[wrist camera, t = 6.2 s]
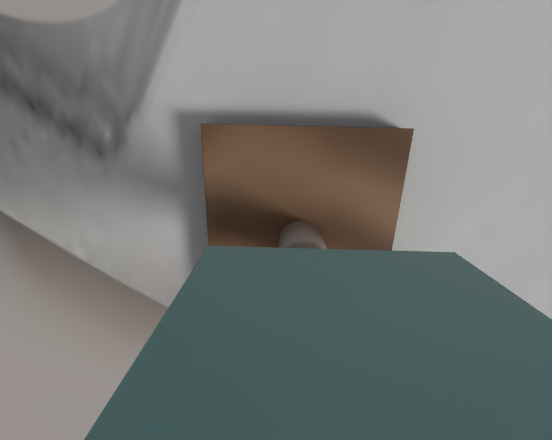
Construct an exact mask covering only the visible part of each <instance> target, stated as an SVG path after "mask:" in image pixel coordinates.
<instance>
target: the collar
mask: <svg viewBox="0 0 552 440" xmlns="http://www.w3.org/2000/svg"><path fill="white" fill-rule="evenodd" d="M84 440H552V319H550V318H549V317H547V316H546V315H544V314H543V313H541V312H540V311H539V310H537V309H536V308H534V307H533V306H531V305H530V304H528V303H527V302H526V301H524V300H523V299H521V298H520V297H518V296H517V295H515V294H514V293H513V292H511V291H510V290H508V289H507V288H505V287H504V286H502V285H501V284H500V283H498V282H497V281H495V280H494V279H492V278H491V277H489V276H488V275H487V274H485V273H484V272H482V271H481V270H479V269H478V268H476V267H475V266H474V265H472V264H471V263H469V262H468V261H466V260H465V259H463V258H462V257H461V256H459V255H458V254H456V253H455V252H421V251H384V250H346V249H309V248H272V247H235V246H208V247H207V249H206V250H205V252H204V254H203V255H202V257H201V258H200V260H199V261H198V263H197V264H196V266H195V268H194V269H193V271H192V272H191V274H190V275H189V277H188V279H187V280H186V282H185V283H184V285H183V286H182V288H181V289H180V291H179V293H178V294H177V296H176V297H175V299H174V300H173V302H172V303H171V305H170V307H169V308H168V310H167V311H166V313H165V315H164V316H163V318H162V319H161V321H160V322H159V324H158V325H157V327H156V328H155V330H154V332H153V333H152V335H151V336H150V338H149V339H148V341H147V343H146V344H145V346H144V347H143V349H142V350H141V352H140V353H139V355H138V357H137V358H136V360H135V361H134V363H133V365H132V366H131V367H130V369H129V371H128V372H127V374H126V375H125V377H124V378H123V380H122V382H121V383H120V385H119V386H118V388H117V389H116V391H115V392H114V394H113V396H112V397H111V399H110V400H109V402H108V403H107V405H106V407H105V408H104V410H103V411H102V413H101V414H100V416H99V417H98V419H97V421H96V422H95V424H94V425H93V427H92V428H91V430H90V431H89V433H88V435H87V436H86V438H85V439H84Z"/></svg>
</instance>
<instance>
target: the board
mask: <svg viewBox="0 0 552 440" xmlns="http://www.w3.org/2000/svg"><path fill="white" fill-rule="evenodd" d="M413 130H414V129H406V128H363V127H319V126H276V125H232V124H201V137H202V152H203V166H204V181H205V196H206V211H207V225H208V240H209V246H235V247H272V248H309V249H346V250H384V251H392V245H393V240H394V234H395V229H396V223H397V218H398V212H399V207H400V201H401V196H402V190H403V185H404V179H405V174H406V168H407V163H408V158H409V152H410V147H411V141H412V136H413Z"/></svg>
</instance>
